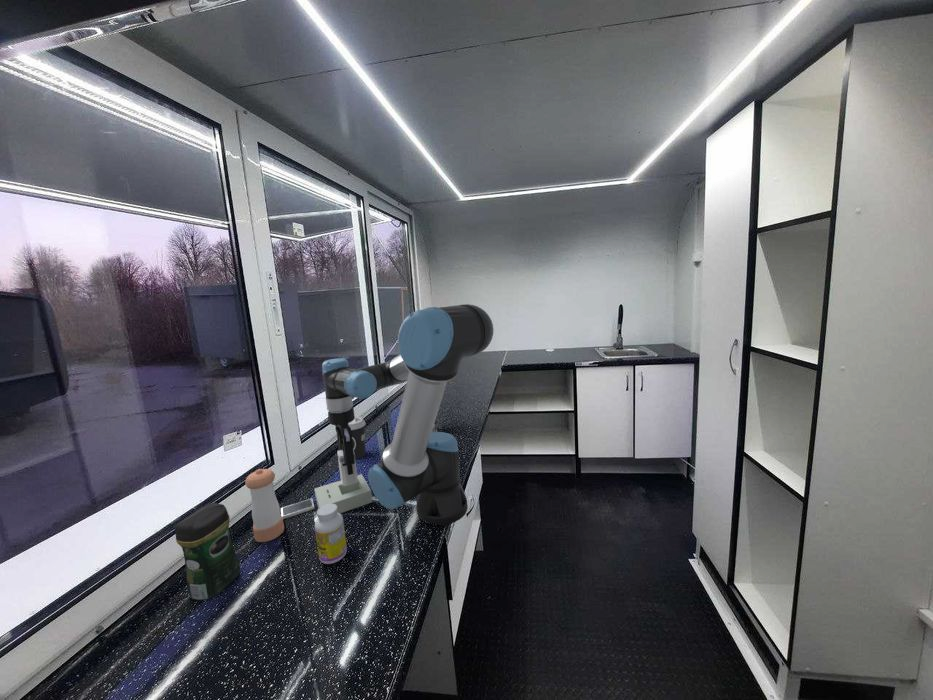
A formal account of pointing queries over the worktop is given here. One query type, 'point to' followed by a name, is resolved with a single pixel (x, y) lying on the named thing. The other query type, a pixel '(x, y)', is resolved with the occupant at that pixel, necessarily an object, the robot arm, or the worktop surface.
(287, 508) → the phone
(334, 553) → the supplement bottle
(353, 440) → the coffee cup
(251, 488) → the pepper shaker
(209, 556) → the coffee jar
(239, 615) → the worktop surface
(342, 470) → the block
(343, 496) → the outlet plate
